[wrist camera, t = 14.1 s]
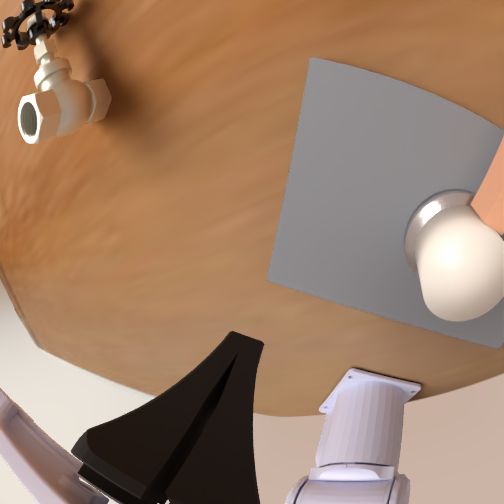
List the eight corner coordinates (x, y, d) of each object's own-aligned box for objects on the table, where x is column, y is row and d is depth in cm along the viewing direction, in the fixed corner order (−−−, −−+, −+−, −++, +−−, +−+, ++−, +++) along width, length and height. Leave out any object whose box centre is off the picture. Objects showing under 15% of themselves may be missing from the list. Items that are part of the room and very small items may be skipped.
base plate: (494, 336, 17) (499, 355, 15) (272, 267, 21) (263, 287, 19) (579, 190, 9) (595, 203, 7) (314, 59, 12) (308, 55, 11)
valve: (132, 99, 17) (87, -9, 12) (58, 119, 12) (21, -10, 7) (85, 139, 20) (47, 38, 15) (23, 166, 15) (-12, 49, 10)
